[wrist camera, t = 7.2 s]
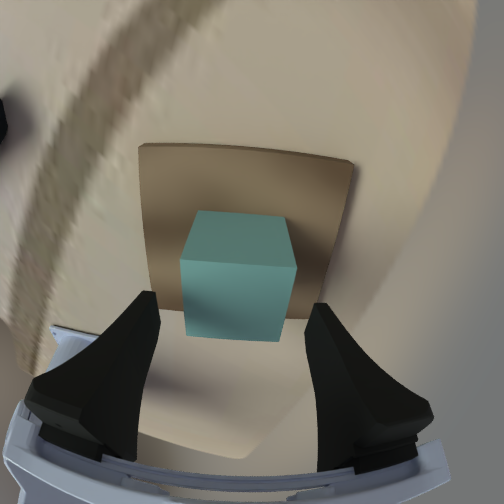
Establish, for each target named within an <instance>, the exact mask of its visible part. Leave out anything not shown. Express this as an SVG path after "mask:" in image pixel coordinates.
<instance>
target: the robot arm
mask: <svg viewBox="0 0 504 504" xmlns="http://www.w3.org/2000/svg"><path fill="white" fill-rule="evenodd" d="M160 325H161V320H160V315H159V309H158V303H157V297H156V292H153V291H144V290H143V291H142V292H141V293H140V294H139V295H138V296H137V297H136V299H135V300H134V301H133V302H132V303H131V304H130V305H129V306H128V307H127V309H126V310H125V311H124V312H123V313H122V314H121V315H120V316H119V317H118V318H117V319H116V320H115V321H114V322H113V323H112V324H111V325H110V326H109V327H108V328H107V329H106V330H105V331H104V332H103V333H102V334H101V335H100V336H95V335H91V334H86V333H82V332H77V331H73V330H69V329H65V328H61V327H57V326H53V325H51V326H50V328H49V329H50V331H51V333H52V335H53V336H54V338H55V340H56V342H57V343H58V347H57V349H56V351H55V353H54V355H53V358H52V360H51V362H50V364H49V366H48V368H47V370H46V373H44V374H42V375H39V376H37V377H35V378H34V379H33V380H32V383H31V385H30V387H29V389H28V392H27V394H26V396H25V399H23V400H20V402H19V403H18V405H17V407H16V410H15V412H14V414H13V417H12V419H11V422H10V425H9V428H8V432H7V435H6V439H5V445H4V448H3V457H4V463H5V465H6V467H7V468H8V470H9V471H10V473H11V474H12V476H13V477H14V479H15V480H16V481H17V483H18V484H19V486H20V487H21V491H20V495H19V500H18V504H400V503H402V502H405V501H407V500H410V499H412V498H414V497H417V496H419V495H421V494H423V493H425V492H428V491H430V490H432V489H434V488H436V487H438V486H440V485H442V484H444V483H446V482H448V481H450V480H451V475H450V471H449V468H448V464H447V460H446V457H445V453H444V450H443V447H442V443H441V440H440V439H439V438H438V439H435V440H433V441H430V442H427V443H425V444H422V445H420V446H418V447H416V445H415V442H417V441H418V437H417V433H419V432H420V431H421V430H423V429H424V428H425V427H427V426H428V425H429V424H430V423H431V422H432V421H433V419H434V415H433V413H432V410H431V407H430V404H429V402H428V401H427V400H426V399H424V398H422V397H420V396H418V395H417V394H415V393H413V392H412V391H410V390H409V389H407V388H405V387H404V386H403V385H401V384H400V383H399V382H397V381H396V380H395V379H393V378H392V377H391V376H390V375H388V374H387V373H386V372H385V371H384V370H383V369H381V368H380V367H379V366H378V365H377V364H376V363H375V362H374V361H373V360H372V359H371V358H370V357H369V356H368V355H367V354H366V353H365V352H364V351H363V350H362V348H361V347H360V346H359V345H358V344H357V343H356V341H355V340H354V339H353V338H352V336H351V335H350V334H349V333H348V331H347V330H346V329H345V327H344V326H343V325H342V323H341V322H340V321H339V319H338V318H337V317H336V315H335V314H334V312H333V311H332V310H331V308H330V307H329V306H328V304H327V303H314V305H313V308H312V311H311V314H310V317H309V320H308V323H307V326H306V329H305V332H304V334H305V346H306V354H307V359H308V363H309V368H310V373H311V377H312V382H313V387H314V392H315V398H316V410H317V426H318V461H317V473H308V474H298V475H285V476H257V477H256V476H254V477H253V476H221V475H208V474H198V473H190V472H182V471H175V470H169V469H163V468H158V467H153V466H148V465H143V464H139V463H134V461H135V460H137V435H138V423H139V414H140V407H141V400H142V394H143V388H144V384H145V380H146V376H147V373H148V370H149V367H150V363H151V360H152V357H153V354H154V351H155V347H156V344H157V341H158V336H159V330H160ZM131 477H132V478H136V479H140V480H145V481H149V482H154V483H159V484H165V485H170V486H177V487H183V488H191V489H200V490H211V491H227V492H276V491H290V490H302V489H310V488H318V487H323V488H319V489H313V490H307V491H301V492H297V493H296V495H293V496H289V497H287V498H286V499H287V501H279V502H230V501H212V500H200V499H190V498H181V497H174V496H169V495H170V493H169V492H168V491H165V490H162V489H160V487H159V486H157V485H153V484H149V483H145V482H142V481H138V480H135V479H132V478H131Z"/></svg>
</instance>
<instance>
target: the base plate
mask: <svg viewBox="0 0 504 504" xmlns="http://www.w3.org/2000/svg"><path fill="white" fill-rule="evenodd" d="M138 154H139V179H140V195H141V208H142V219H143V229H144V238H145V247H146V255H147V262H148V269H149V276H150V282H151V288H152V291H153V292H156V297H157V303H158V309H166V310H175V311H184V307H183V296H182V284H181V270H180V257H181V255H182V252H183V249H184V246H185V244H186V241H187V238H188V235H189V233H190V230H191V227H192V225H193V222H194V220H195V217H196V214H197V212H198V210H201V211H216V212H230V213H244V214H256V215H268V216H279V217H284V218H285V221H286V225H287V229H288V233H289V237H290V241H291V245H292V249H293V253H294V257H295V261H296V265H297V271H296V275H295V279H294V284H293V288H292V292H291V296H290V300H289V304H288V308H287V312H286V316H285V318H287V319H309V317H310V314H311V311H312V308H313V305H314V303H317V300H318V297H319V294H320V291H321V288H322V284H323V281H324V278H325V275H326V272H327V268H328V265H329V262H330V258H331V255H332V251H333V248H334V244H335V241H336V237H337V233H338V230H339V226H340V222H341V218H342V214H343V210H344V207H345V202H346V198H347V194H348V190H349V186H350V181H351V177H352V173H353V168H354V165H353V164H352V163H351V162H350V161H348V160H343V159H337V158H331V157H325V156H319V155H313V154H306V153H299V152H291V151H283V150H275V149H265V148H255V147H244V146H230V145H214V144H187V143H144V144H143V145H141V146H139V147H138Z"/></svg>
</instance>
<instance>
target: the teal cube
mask: <svg viewBox="0 0 504 504" xmlns="http://www.w3.org/2000/svg"><path fill="white" fill-rule="evenodd" d="M180 270H181V284H182V296H183V307H184V317H185V326H186V335H187V336H195V337H205V338H217V339H231V340H247V341H270V342H279V339H280V336H281V332H282V328H283V324H284V320H285V316H286V312H287V308H288V304H289V300H290V296H291V292H292V288H293V284H294V279H295V275H296V271H297V265H296V261H295V257H294V253H293V249H292V245H291V241H290V237H289V233H288V229H287V225H286V221H285V218H284V217H279V216H268V215H256V214H244V213H230V212H216V211H201V210H198V212H197V214H196V217H195V220H194V222H193V225H192V227H191V230H190V233H189V235H188V238H187V241H186V244H185V246H184V249H183V252H182V255H181V257H180Z"/></svg>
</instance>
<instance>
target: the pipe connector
mask: <svg viewBox="0 0 504 504" xmlns="http://www.w3.org/2000/svg"><path fill="white" fill-rule="evenodd" d="M7 127H8V125H7V121H6V117H5V112H4V108H3V102H2V100H1V99H0V144H1V143H2V141H3V140H4V137H5V135H6V132H7Z"/></svg>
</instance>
